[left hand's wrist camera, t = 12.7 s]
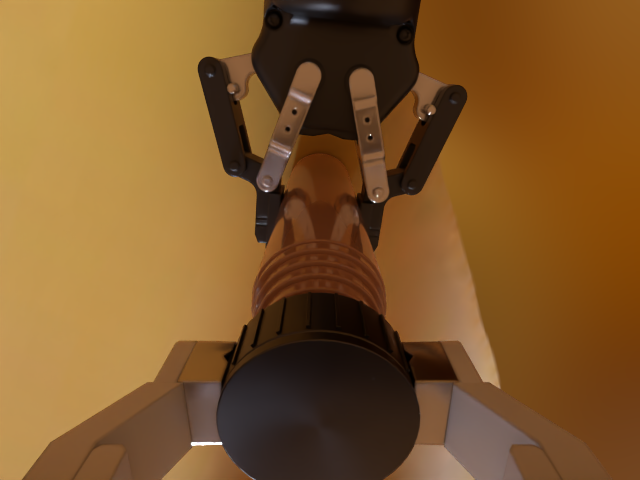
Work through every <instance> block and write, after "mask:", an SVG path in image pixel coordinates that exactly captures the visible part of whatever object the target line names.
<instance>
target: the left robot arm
mask: <svg viewBox="0 0 640 480" xmlns="http://www.w3.org/2000/svg"><path fill="white" fill-rule="evenodd" d="M235 344H237V342H227V341H178V342H176V343H175V345H174V347H173V348H172V350H171V352H170V354H169V355H168V357H167V359H166V361H165V362H164V364H163V366H162V368H161V370H160V371H159V373H158V375H157V377H156V378H155V380H154V382H147V383H146V384H144V385H142V386H141V387H139V388H137V389H136V390H134V391H133V392H131V393H129V394H128V395H126V396H125V397H123V398H121V399H120V400H118V401H116V402H115V403H113V404H112V405H110V406H108V407H107V408H105V409H104V410H102V411H100V412H99V413H97V414H96V415H94V416H92V417H91V418H89V419H87V420H86V421H84V422H83V423H81V424H79V425H78V426H76V427H75V428H73V429H71V430H70V431H68V432H66V433H65V434H63V435H62V436H60V437H58V438H57V439H55V440H54V441H52V442H50V444H49V445H48V446H47V448H46V449H45V450H44V451H43V453H42V454H41V455H40V457H39V458H38V459H37V461H36V462H35V463H34V465H33V466H32V467H31V468H30V470H29V471H28V472H27V474H26V475H25V476H24V478H23V479H22V480H161V479H162V478H163V477H164V476H165V475H166V474H167V473H168V472H169V471H170V470H171V469H172V468H173V466H174V465H175V464H176V463H177V462H178V461H179V460H180V459H181V458H182V457H183V456H184V455H185V454H186V453H187V452H188V451H189V450H190V449H191V448H192V445H209V444H222V443H221V441H220V438H219V435H218V430H217V424H216V411H217V405H218V400H219V397H220V394H221V391H222V388H223V381H224V378H225V375H226V372H227V369H228V361H229V358H230V355H231V354H233V351H234V347H235ZM401 344H402V347H403V350H404V354H405V357H406V360H407V363H408V366H409V369H410V371H409V373H410V377H411V380H412V383H413V386H414V389H415V393H416V396H417V399H418V403H419V407H420V428H419V432H418V437H417V440H416V442H415V444H427V445H444V447H445V448H446V449H447V450H448V451H449V452H450V453H451V454H452V455H453V456H454V457H455V458H456V460H457V461H458V462H459V463H460V464H461V465H462V466H463V467H464V468H465V469H466V470H467V471H468V472H469V473H470V474H471V475H472V476H473V477H474V478H475V479H476V480H613V479H612V478H611V476H610V475H609V474H608V472H607V471H606V470H605V468H604V467H603V466H602V464H601V463H600V461H599V460H598V459H597V457H596V456H595V455H594V453H593V452H592V451H591V449H590V448H589V447H588V445H587V444H586V443H585V442H583V441H582V440H580V439H578V438H577V437H575V436H574V435H572V434H570V433H569V432H567V431H566V430H564V429H562V428H561V427H559V426H558V425H556V424H555V423H553V422H551V421H550V420H548V419H547V418H545V417H543V416H542V415H540V414H539V413H537V412H535V411H534V410H532V409H531V408H529V407H527V406H526V405H524V404H523V403H521V402H519V401H518V400H516V399H515V398H513V397H511V396H510V395H508V394H507V393H505V392H504V391H502V390H500V389H499V388H497V387H496V386H494V385H492V384H491V383H489V382H483V381H482V379H481V378H480V376H479V374H478V372H477V371H476V369H475V367H474V365H473V363H472V362H471V360H470V358H469V356H468V355H467V353H466V351H465V349H464V347H463V346H462V344H461V342H459V341H438V342H401Z"/></svg>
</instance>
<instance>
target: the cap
mask: <svg viewBox="0 0 640 480" xmlns="http://www.w3.org/2000/svg"><path fill="white" fill-rule="evenodd" d="M409 371H410V369H409V366H408V363H407V360H406V357H405V354H404V350H403V347H402V344H401V341H400V338H399V335H398V332H397V331H395V332H394V330H393V329H392V327H391V326H390V324H389V323H388V322H387V321H386V320H385V319H384V315H383V314H382V313H381V314H379V313H378V312H376V311H375V310H374V309H372V308H370V307H369V306H367V305H366V304H364V303H363V301H361V300H360V301H357V300H355V299H352V298H349V297H346V296H343V295H338V293H335V294H333V293H321V292H319V293H311V292H308V293H305V294H298V295H294V296H291V297H287V298H285V297H283V298H282V300H280V301H277V302H275V303H273V304H271V305H270V306H268V307H266V308H265V309H260V311H259V313H258V314H257V315H256V316H255V317H254V318H253V319H252V320H251V321H250V322H249V323H248V324H247V325H244V326H243V329H242V332H241V335H240V337H239V339H238V342H237V344H235V347H234V351H233V354H231V355H230V358H229V361H228V369H227V372H226V375H225V378H224V381H223V388H222V391H221V394H220V397H219V400H218V405H217V411H216V424H217V430H218V435H219V438H220V441H221V443H222V445H223V447H224V449H225V451H226V453H227V454H228V456H229V457H230V458H231V460H232V461H233V462H234V463H235V464H236V465H237V466H238V467H239V468H240V469H241V470H242V471H243V472H244V473H246V474H247V475H248V476H249V477H251V478H252V479H254V480H383V479H385V478H386V477H387V476H389V475H390V474H391V473H393V472H394V471H395V470H396V469H397V468H398V467H399V466H400V465H401V464H402V463H403V462H404V460H405V459H406V458H407V457H408V455H409V454H410V452H411V450H412V449H413V447H414V444H415V442H416V440H417V437H418V432H419V428H420V407H419V403H418V399H417V396H416V393H415V389H414V386H413V383H412V380H411V377H410V373H409Z"/></svg>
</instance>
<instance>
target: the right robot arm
mask: <svg viewBox="0 0 640 480" xmlns="http://www.w3.org/2000/svg"><path fill="white" fill-rule="evenodd" d="M420 2H421V0H264V20H263V27H262V30H261V33H260V35H259V38H258V39H257V41H256V43H255V44H254V46H253V49H252V53H250V54H245V55H240V56H235V57H230V58H225V59H217V58H213V57H205V58H203V59H202V60H201V61H200V62H199V64H198V73H199V77H200V81H201V85H202V88H203V92H204V96H205V100H206V103H207V107H208V111H209V115H210V118H211V122H212V126H213V130H214V133H215V137H216V141H217V145H218V148H219V152H220V156H221V160H222V163H223V167H224V170H225V172H226V173H227V174H228V175H230V176H233V177H240V178H242V179H245V180H247V181H249V182H250V183H252V184H253V185H254V187H255V189H256V191H257V203H256V225H255V235H256V238H257V241H258V242H259V243H266V247H267V244H268V241H269V238H270V235H271V232H272V229H273V226H274V223H275V220H276V217H277V214H278V211H279V208H280V205H281V202H282V199H283V196H284V187H285V185H281V179H282V175H283V172H284V170H285V167H286V165H287V162H288V160H289V157H290V155H291V152H292V150H293V148H294V145H295V143H296V140H297V138H298V135H299V134H300V135H309V136H316V135H322V134H332V135H334V136H337V137H339V138H342V139H347V140H355V145H356V150H357V155H358V159H359V165H360V171H361V176H362V182H363V185H362V192H361V193H357V202H358V205H359V208H360V211H361V214H362V217H363V220H364V224H365V227H366V230H367V233H368V236H369V239H370V242H371V245H372V248H373V251H375V249H376V248H377V246H378V240H379V234H380V228H381V222H382V216H383V210H384V206H385V203H386V202H387V201H388V200H389V199H390V198H392V197H394V196H398V195H402V194H408V195H415V194H418V193H419V192H420V191H421V190H422V188H423V186H424V184H425V182H426V180H427V178H428V176H429V174H430V172H431V170H432V168H433V166H434V164H435V162H436V160H437V158H438V156H439V154H440V152H441V150H442V148H443V146H444V144H445V142H446V140H447V138H448V136H449V134H450V133H451V131H452V129H453V127H454V124H455V123H456V121H457V119H458V117H459V115H460V113H461V111H462V109H463V107H464V105H465V103H466V100H467V92H466V90H465V89H464V88H463V87H462V86H460V85H454V84H445V83H443V82H440V81H438V80H436V79H434V78H432V77H429V76H427V75H425V74H423V73H420V72H419V64H418V61H417V58H416V54H415V48H414V39H415V32H416V26H417V20H418V14H419V8H420ZM254 74H257V76H258V78H259V79H260V81H261V83H262V84H263V86H264V88H265V89H266V91H267V93H268V95H269V96H270V98H271V100H272V101H273V103H274V105H275V106H276V108H277V110H278V111H279V113H280V116H279V119H278V122H277V124H276V127H275V130H274V132H273V135H272V137H271V140H270V143H269V146H268V149H267V152H266V155H265V157H264V159H263V158H261V157H259V156H257V155H254V154H252V151H251V147H250V143H249V139H248V135H247V130H246V126H245V122H244V118H243V114H242V109H241V105H240V101H239V100H242V99H244V98H245V97H246V96H247V95H248V92H249V86H248V84H249V80H250V78H251V77H252V76H253V75H254ZM410 91H411V92H412V93H413V95H414V98H415V102H414V106H413V113H414V115H415V117H416V118H418V119H419V121H418V123H417V125H416V127H415V129H414V132H413V134H412V136H411V138H410V140H409V142H408V144H407V146H406V149H405V151H404V153H403V155H402V157H401V159H400V161H399V163H398V166H397V168H395V169H391V170H387V171H386V167H385V152H384V145H383V139H382V132H381V126H380V123H381V122H382V121H383V120H384V119H385V118H386V117H387V116H388V115H389V114H390V113H391V111H392V110H393V109H394V108H395V107H396V106H397V105H398V104H399V103H400V102H401V100H402V99H403V98H404V97H405V96H406V95H407V94H408V93H409V92H410Z"/></svg>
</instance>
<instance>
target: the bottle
mask: <svg viewBox="0 0 640 480" xmlns="http://www.w3.org/2000/svg"><path fill="white" fill-rule="evenodd" d="M308 292H311V293H319V292H321V293H333V294H335V293H338V295H343V296H346V297H349V298H352V299H355V300H357V301H360V300H361V301H363V303H364V304H366V305H367V306H369V307H370V308H372V309H374V310H375V311H376V312H378V313H379V314H381V313H382V314H383V315H384V319H385V315H386V293H385V286H384V283H383V279H382V276H381V273H380V270H379V267H378V264H377V261H376V258H375V255H374V251H373V248H372V245H371V242H370V239H369V236H368V233H367V230H366V227H365V224H364V220H363V217H362V214H361V211H360V208H359V205H358V202H357V199H356V196H355V192H354V189H353V186H352V183H351V180H350V177H349V174H348V171H347V169H346V168H345V166H344V165H343V163H342V162H341V161H340V160H338V159H337V158H335V157H333V156H331V155H329V154H324V153H316V154H311V155H308V156H306V157H304V158H303V159H301V160H300V161H299V162H298V163H297V164H296V165H295V167H294V168H293V170H292V172H291V175H290V178H289V181H288V184H287V187H286V190H285V193H284V196H283V199H282V202H281V205H280V208H279V211H278V214H277V217H276V220H275V223H274V226H273V229H272V232H271V235H270V238H269V241H268V244H267V247H266V250H265V253H264V256H263V259H262V262H261V265H260V268H259V271H258V274H257V277H256V280H255V283H254V286H253V292H252V316H253V318H254V317H255V316H256V315H257V314H258V313H259V311H260V309H265V308H266V307H268V306H270V305H271V304H273V303H275V302H277V301H280V300H282V298H283V297H285V298H287V297H291V296H294V295H298V294H305V293H308Z"/></svg>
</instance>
